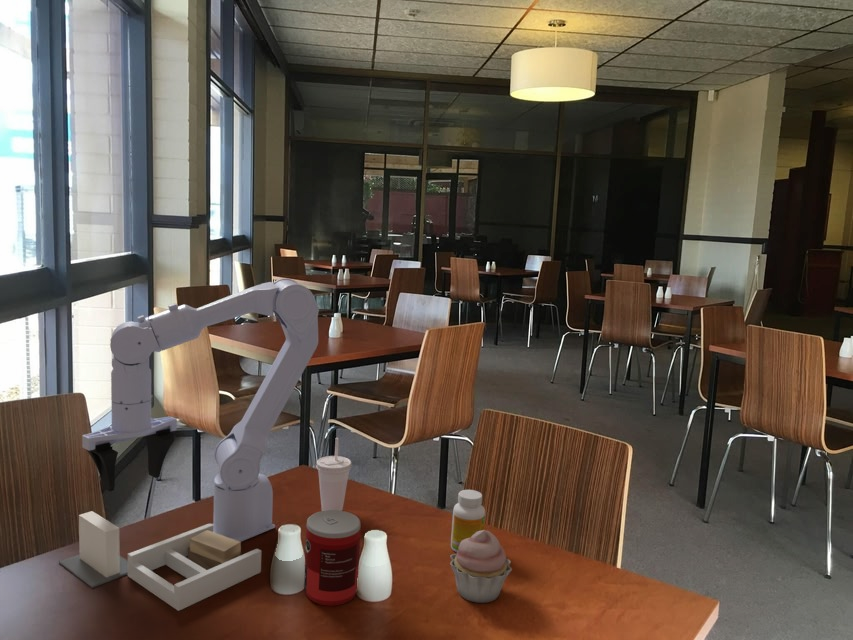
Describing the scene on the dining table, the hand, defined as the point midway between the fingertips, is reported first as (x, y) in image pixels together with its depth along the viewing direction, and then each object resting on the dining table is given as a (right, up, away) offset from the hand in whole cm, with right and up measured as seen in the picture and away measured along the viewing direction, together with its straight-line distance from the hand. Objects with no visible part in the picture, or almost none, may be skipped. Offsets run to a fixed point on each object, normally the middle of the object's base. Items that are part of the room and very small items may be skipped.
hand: (132, 482), depth 108 cm
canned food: (+33, -14, -9) cm, 37 cm away
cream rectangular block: (-2, -11, -6) cm, 13 cm away
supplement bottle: (+53, -13, +7) cm, 56 cm away
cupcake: (+54, -15, -6) cm, 57 cm away
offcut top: (+14, -10, -4) cm, 18 cm away
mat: (-3, -11, -6) cm, 13 cm away
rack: (+12, -12, -6) cm, 18 cm away
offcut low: (+14, -12, -3) cm, 19 cm away
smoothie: (+29, -10, +18) cm, 36 cm away
